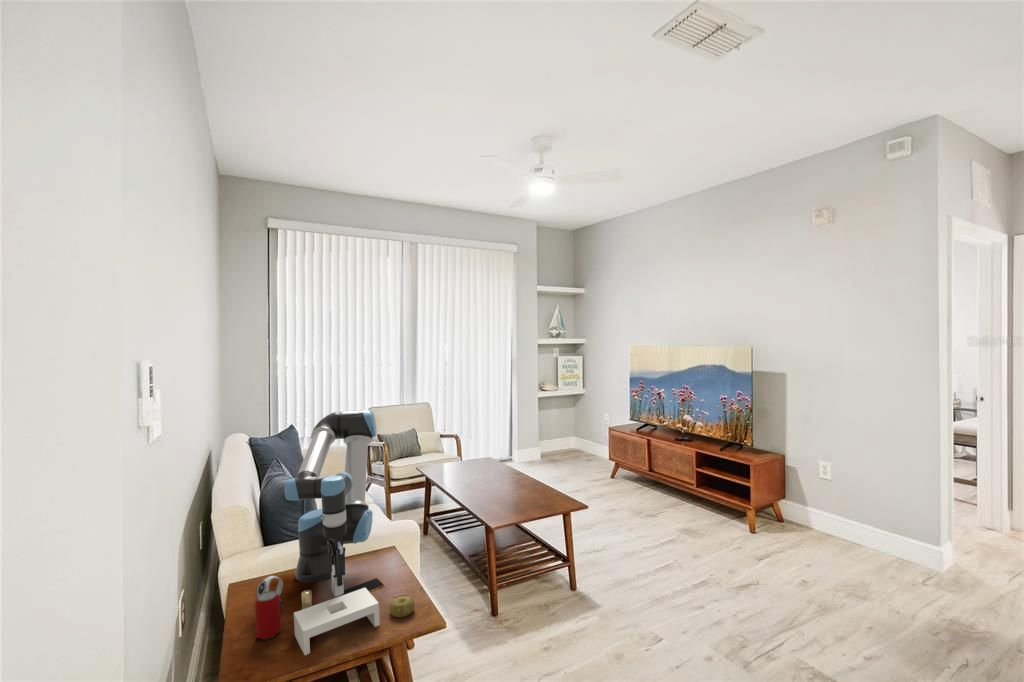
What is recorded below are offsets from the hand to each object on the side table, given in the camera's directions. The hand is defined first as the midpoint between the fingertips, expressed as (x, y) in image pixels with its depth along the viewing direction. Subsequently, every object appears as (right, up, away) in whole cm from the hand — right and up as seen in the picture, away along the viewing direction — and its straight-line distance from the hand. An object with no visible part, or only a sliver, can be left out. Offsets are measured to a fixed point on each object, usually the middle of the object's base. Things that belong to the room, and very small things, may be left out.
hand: (337, 592), depth 163 cm
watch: (-21, -5, -3) cm, 22 cm away
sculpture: (+24, -3, -7) cm, 25 cm away
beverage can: (-15, -5, -16) cm, 23 cm away
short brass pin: (-8, -4, -6) cm, 11 cm away
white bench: (+6, -3, -16) cm, 17 cm away
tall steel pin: (0, -4, 0) cm, 4 cm away
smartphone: (+5, -4, +7) cm, 9 cm away
